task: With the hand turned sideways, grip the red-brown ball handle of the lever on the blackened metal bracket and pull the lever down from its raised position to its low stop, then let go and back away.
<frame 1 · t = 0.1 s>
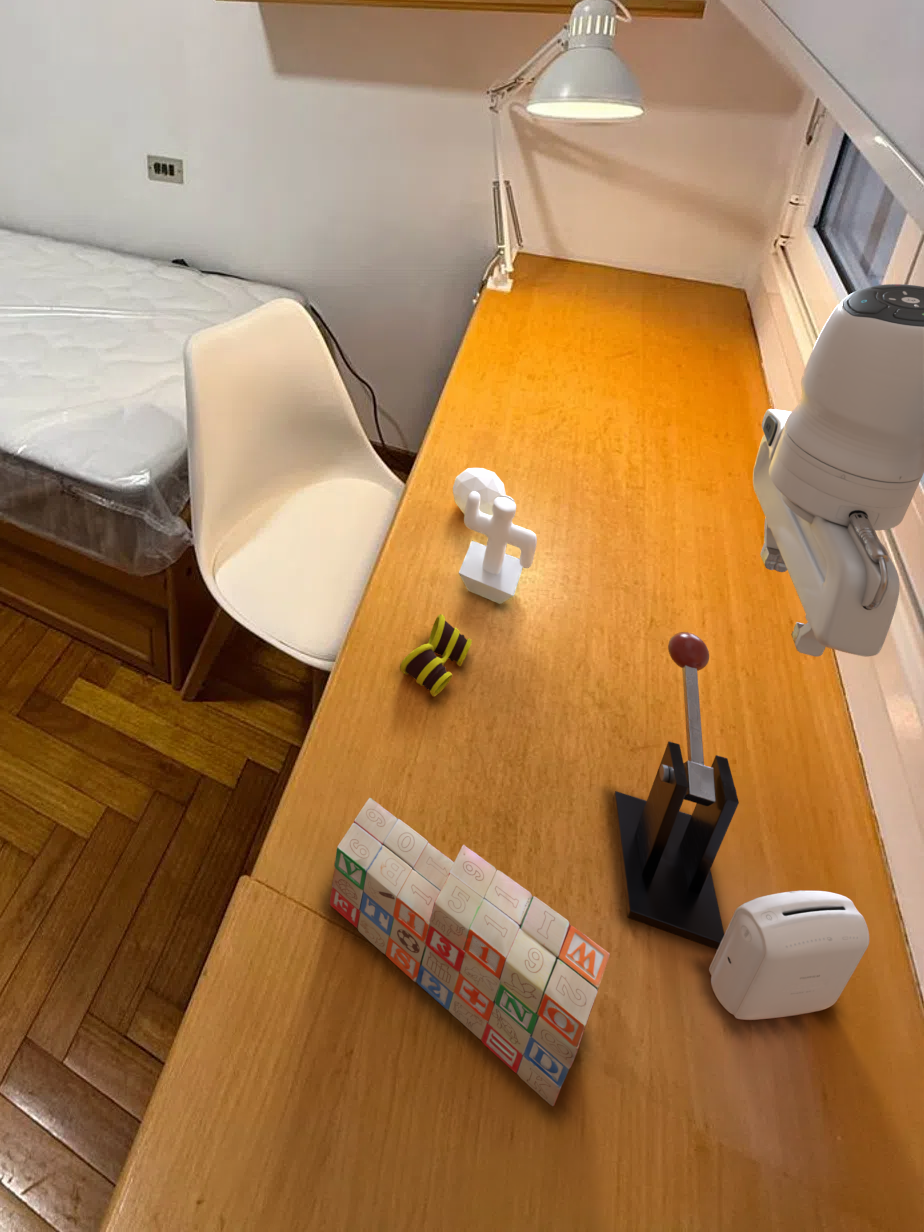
hand: (787, 604, 72), 33 cm above the table, tool pointing down, fingers open, 8 cm apart
lever: (692, 712, 82), point 16 cm above the table, hinge at 25.0°
photo printer: (767, 992, 74), on the table
figurine: (487, 588, 116), on the table
geometric ball: (475, 513, 130), on the table
stack of blocks: (446, 968, 76), on the table
bracket: (663, 869, 83), on the table
opera glasses: (435, 669, 104), on the table
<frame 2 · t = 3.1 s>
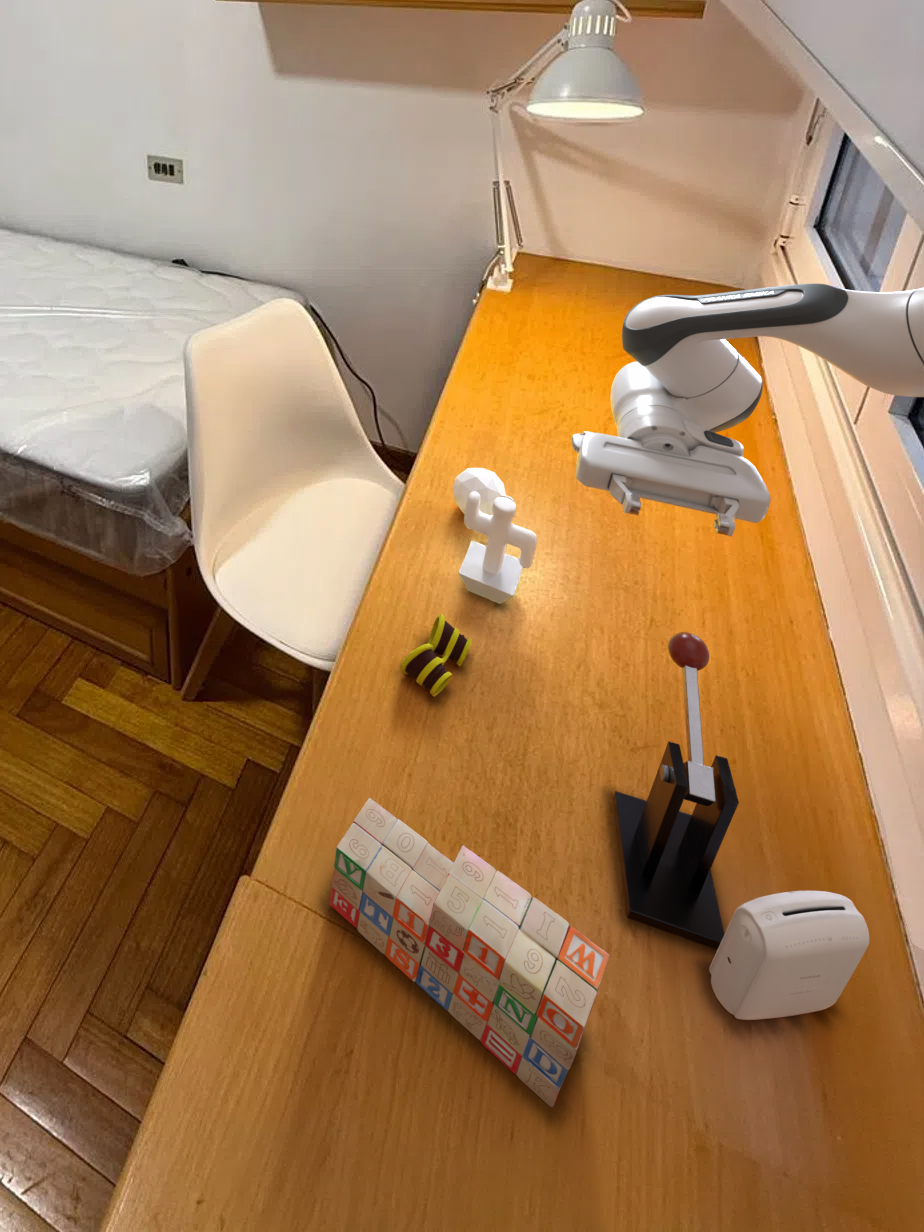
hand: (678, 520, 95), 24 cm above the table, tool horizontal, fingers open, 8 cm apart
nothing on the table moved.
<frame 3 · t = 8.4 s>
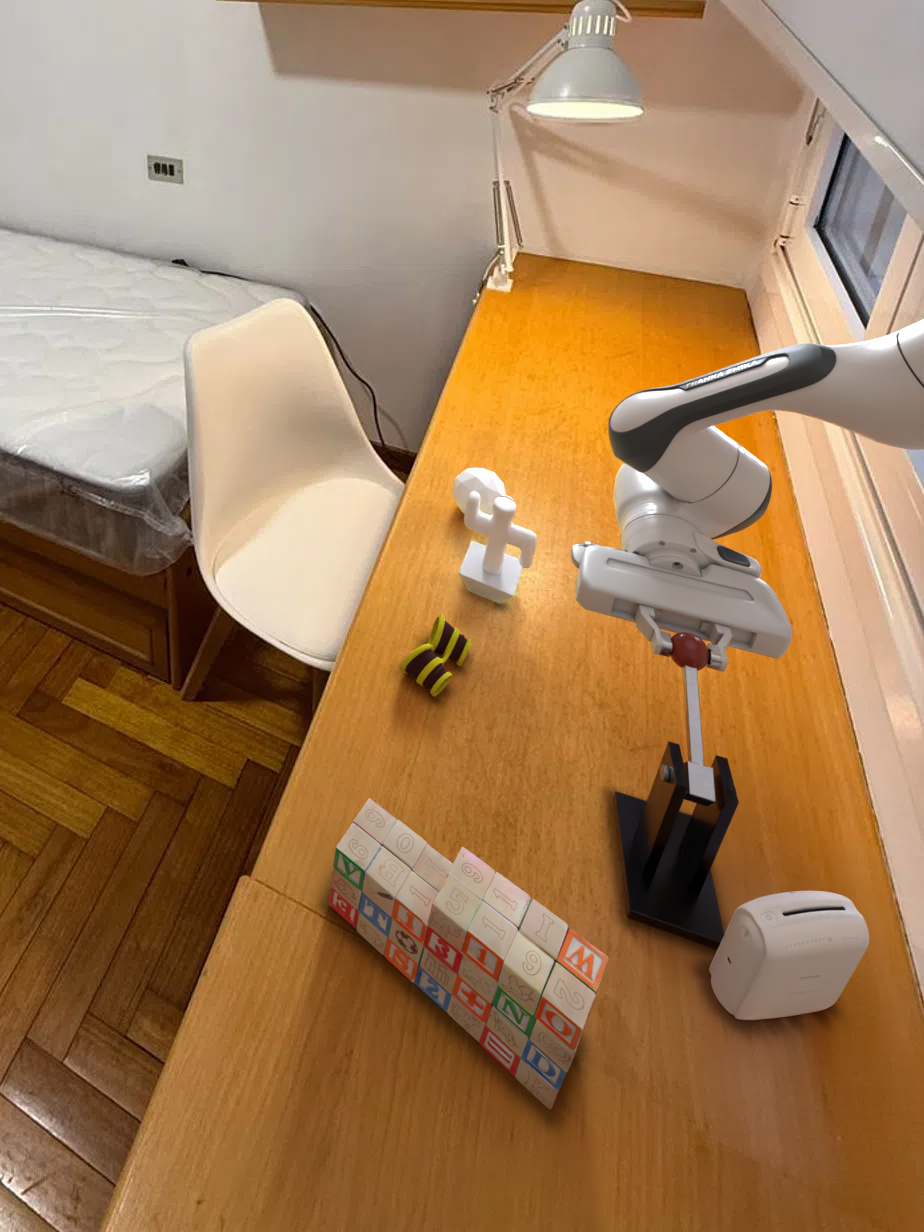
hand: (690, 658, 85), 18 cm above the table, tool horizontal, fingers closed on lever, 3 cm apart
lever: (692, 712, 82), point 16 cm above the table, hinge at 25.0°, touching gripper
everything else where it was.
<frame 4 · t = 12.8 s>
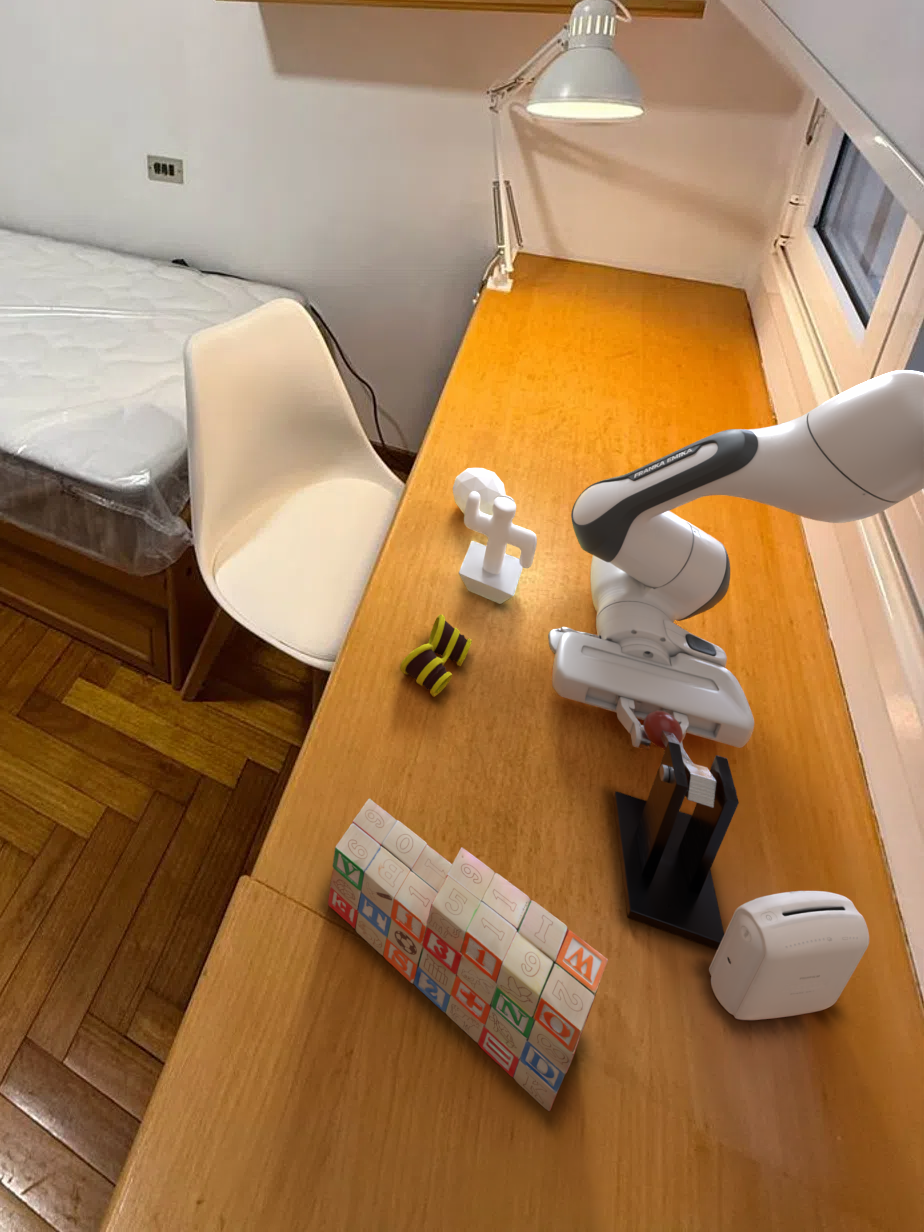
hand: (658, 749, 90), 4 cm above the table, tool horizontal, fingers closed on lever, 2 cm apart
lever: (678, 753, 84), point 10 cm above the table, hinge at -30.3°, touching gripper
everything else where it was.
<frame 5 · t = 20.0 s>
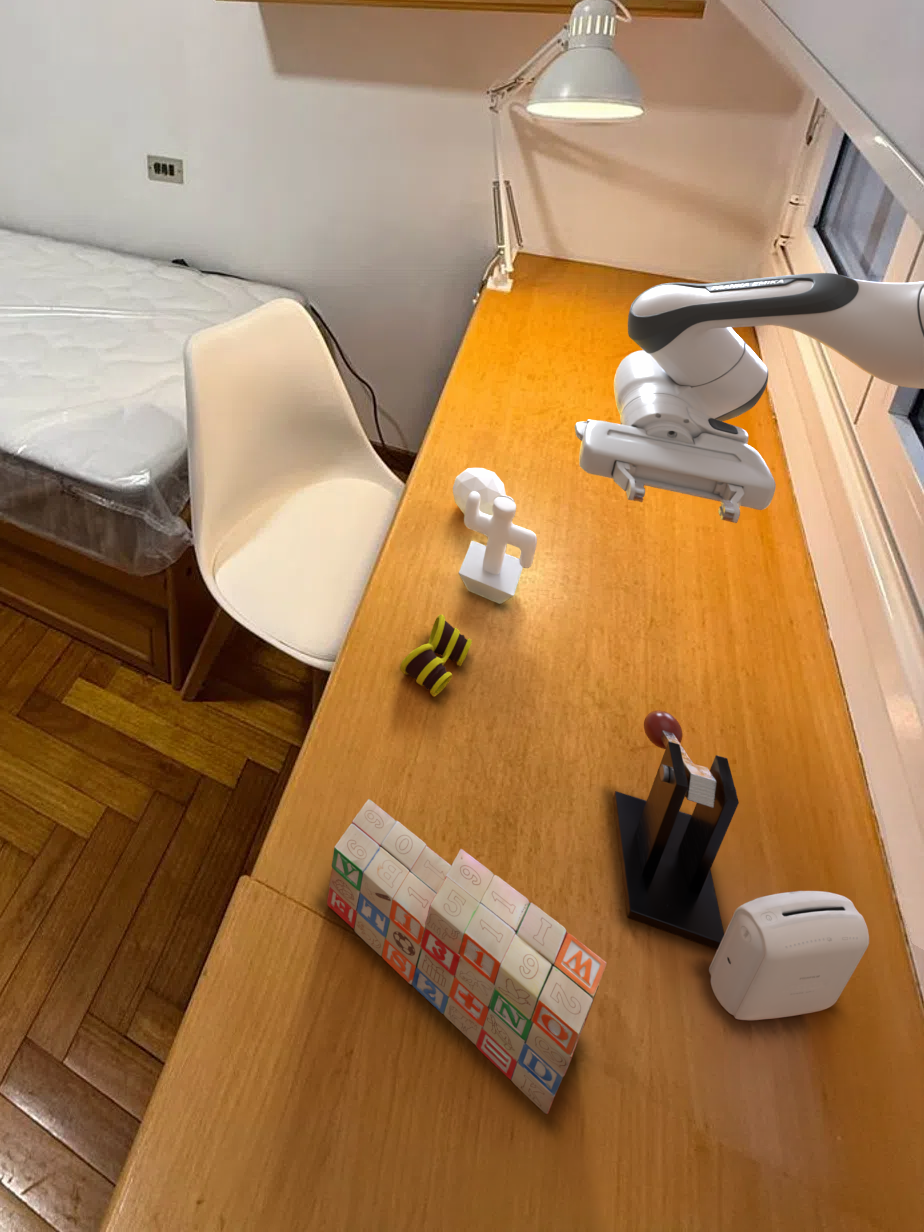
hand: (683, 506, 94), 26 cm above the table, tool horizontal, fingers open, 8 cm apart
lever: (678, 753, 84), point 10 cm above the table, hinge at -30.2°
everything else where it was.
at the end: lever at -30° (first picture: +25°); the gripper is holding nothing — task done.
